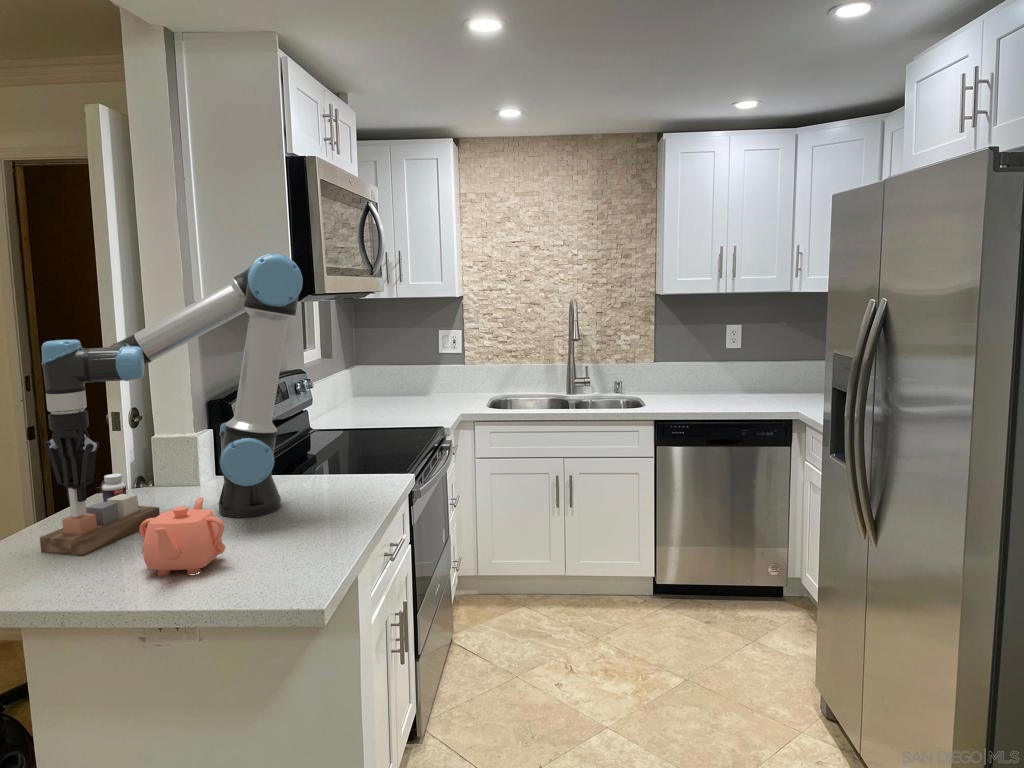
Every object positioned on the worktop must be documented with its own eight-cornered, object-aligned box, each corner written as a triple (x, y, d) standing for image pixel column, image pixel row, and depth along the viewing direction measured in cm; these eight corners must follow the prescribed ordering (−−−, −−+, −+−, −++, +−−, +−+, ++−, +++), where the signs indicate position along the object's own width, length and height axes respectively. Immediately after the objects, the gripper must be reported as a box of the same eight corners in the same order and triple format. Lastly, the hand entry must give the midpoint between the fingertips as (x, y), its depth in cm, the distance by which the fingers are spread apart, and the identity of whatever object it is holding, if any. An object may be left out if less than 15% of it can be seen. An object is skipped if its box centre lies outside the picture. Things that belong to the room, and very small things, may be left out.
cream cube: (139, 514, 183) (137, 494, 182) (125, 520, 178) (123, 500, 178) (123, 513, 184) (121, 493, 183) (108, 519, 180) (106, 499, 179)
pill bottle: (118, 516, 190) (114, 478, 189) (99, 515, 191) (95, 477, 190) (132, 509, 195) (129, 473, 194) (114, 508, 197) (111, 472, 195)
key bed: (160, 521, 185) (159, 507, 185) (82, 556, 162) (81, 540, 162) (122, 518, 188) (121, 504, 188) (41, 552, 165) (39, 537, 165)
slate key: (119, 523, 177) (117, 502, 176) (103, 529, 172) (101, 508, 171) (102, 522, 178) (100, 501, 177) (87, 528, 173) (85, 507, 173)
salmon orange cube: (97, 535, 170) (95, 514, 170) (81, 542, 166) (79, 520, 165) (80, 534, 172) (78, 512, 171) (64, 541, 167) (62, 519, 166)
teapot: (160, 589, 144) (154, 525, 142) (133, 566, 156) (128, 507, 154) (237, 568, 154) (232, 508, 152) (206, 547, 166) (202, 492, 164)
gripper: (105, 408, 167) (116, 511, 170) (57, 407, 170) (68, 508, 173) (78, 414, 160) (90, 522, 163) (28, 413, 163) (40, 518, 166)
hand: (79, 515), depth 168 cm, fingers closed
